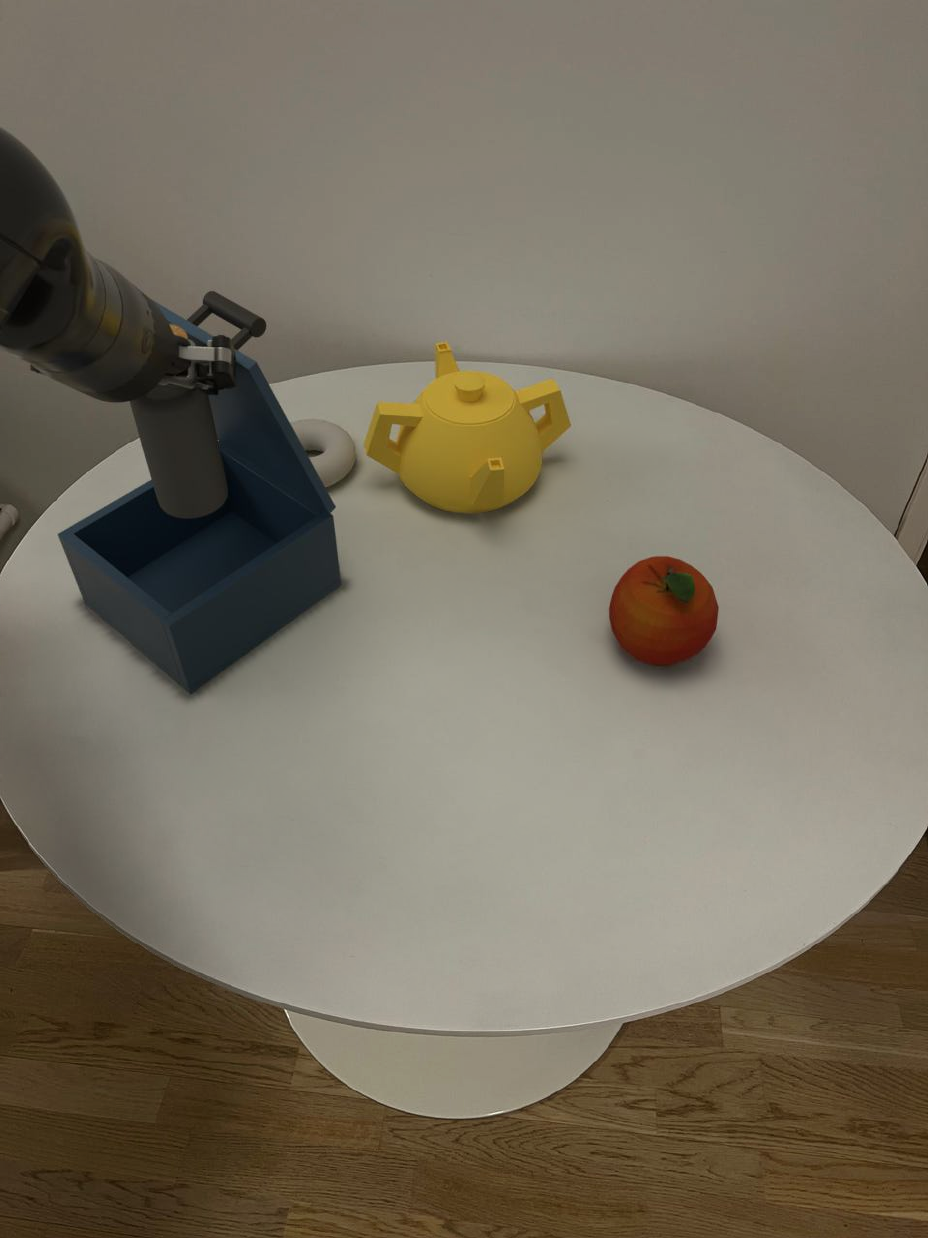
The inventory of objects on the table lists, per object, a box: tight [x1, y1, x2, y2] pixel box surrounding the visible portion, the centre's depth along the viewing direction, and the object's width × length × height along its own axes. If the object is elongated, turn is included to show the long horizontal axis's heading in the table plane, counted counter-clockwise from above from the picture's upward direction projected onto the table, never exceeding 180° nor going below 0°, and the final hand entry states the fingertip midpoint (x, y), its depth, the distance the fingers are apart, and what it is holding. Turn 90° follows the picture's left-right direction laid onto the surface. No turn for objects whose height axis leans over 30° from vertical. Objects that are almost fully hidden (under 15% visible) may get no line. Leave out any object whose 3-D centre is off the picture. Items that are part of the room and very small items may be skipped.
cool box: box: [57, 440, 342, 695], centre depth 92 cm, size 18×16×9 cm
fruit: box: [608, 555, 720, 667], centre depth 88 cm, size 10×10×10 cm
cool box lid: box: [150, 290, 337, 514], centre depth 85 cm, size 19×16×5 cm
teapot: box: [363, 341, 572, 515], centre depth 103 cm, size 17×17×12 cm
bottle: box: [129, 324, 228, 519], centre depth 79 cm, size 6×6×15 cm
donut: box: [290, 418, 357, 488], centre depth 107 cm, size 10×4×10 cm
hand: (172, 381), depth 78 cm, fingers closed on bottle, 6 cm apart
